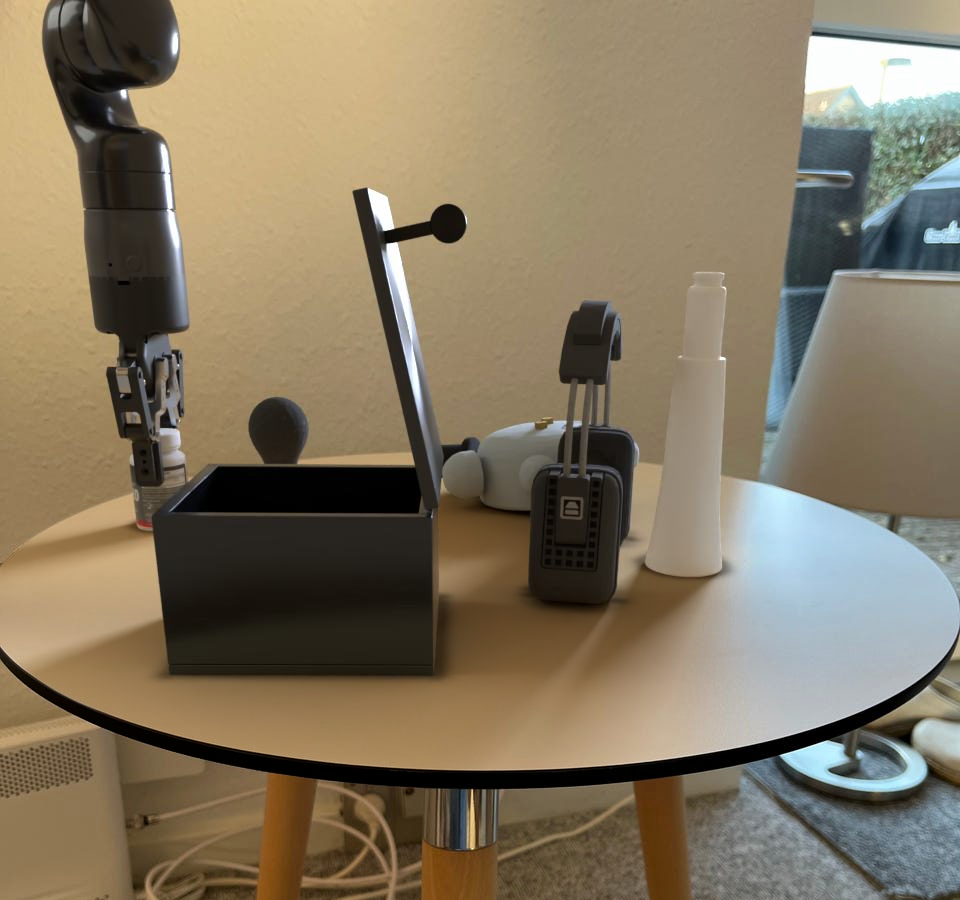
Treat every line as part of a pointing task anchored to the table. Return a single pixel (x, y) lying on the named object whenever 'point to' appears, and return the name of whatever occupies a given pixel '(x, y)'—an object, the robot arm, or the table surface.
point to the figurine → (504, 463)
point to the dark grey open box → (299, 571)
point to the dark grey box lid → (407, 323)
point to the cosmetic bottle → (694, 442)
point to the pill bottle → (175, 479)
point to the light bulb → (278, 430)
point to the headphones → (583, 475)
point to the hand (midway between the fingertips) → (159, 477)
